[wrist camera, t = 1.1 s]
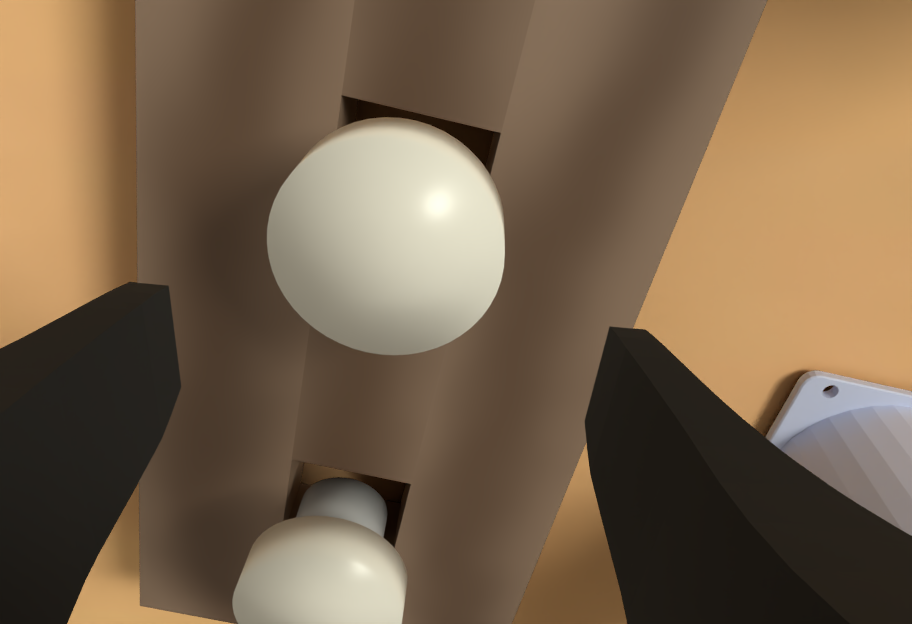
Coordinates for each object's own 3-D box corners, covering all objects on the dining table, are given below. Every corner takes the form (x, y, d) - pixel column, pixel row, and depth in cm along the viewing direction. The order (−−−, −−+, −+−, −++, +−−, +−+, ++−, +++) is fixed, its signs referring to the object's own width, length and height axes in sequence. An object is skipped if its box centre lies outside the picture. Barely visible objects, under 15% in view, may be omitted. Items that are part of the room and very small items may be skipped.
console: (741, -45, 18) (783, -39, 15) (492, 607, 31) (491, 672, 28) (189, -188, 17) (133, -207, 14) (171, 545, 30) (140, 605, 27)
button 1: (525, 115, 17) (533, 169, 14) (478, 289, 20) (473, 375, 16) (325, 67, 17) (278, 109, 13) (302, 250, 19) (257, 328, 16)
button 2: (429, 471, 23) (416, 576, 20) (402, 571, 26) (386, 680, 22) (279, 441, 23) (237, 540, 19) (266, 545, 25) (227, 651, 22)
